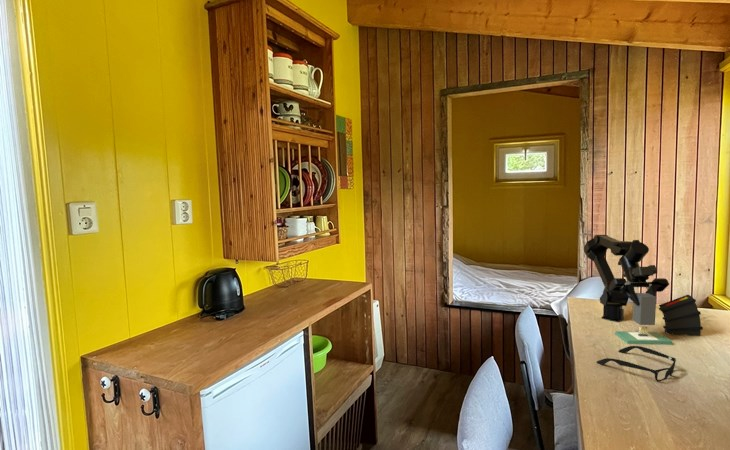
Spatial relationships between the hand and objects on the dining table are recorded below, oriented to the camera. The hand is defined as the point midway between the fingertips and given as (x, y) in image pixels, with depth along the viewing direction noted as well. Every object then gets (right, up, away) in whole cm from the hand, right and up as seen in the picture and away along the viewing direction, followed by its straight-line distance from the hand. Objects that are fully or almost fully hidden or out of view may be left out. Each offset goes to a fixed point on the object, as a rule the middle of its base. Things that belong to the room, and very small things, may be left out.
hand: (646, 305), depth 145 cm
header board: (+1, -13, +3) cm, 13 cm away
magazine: (+17, -13, +7) cm, 23 cm away
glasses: (-16, -17, -18) cm, 29 cm away
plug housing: (0, -7, +2) cm, 7 cm away
